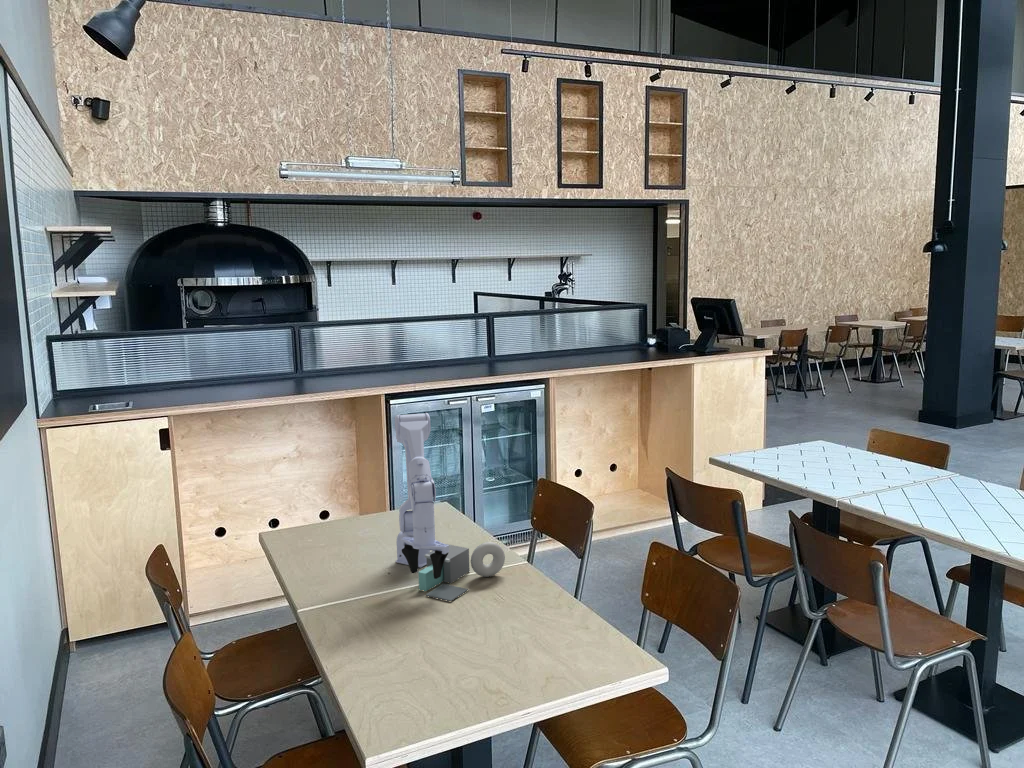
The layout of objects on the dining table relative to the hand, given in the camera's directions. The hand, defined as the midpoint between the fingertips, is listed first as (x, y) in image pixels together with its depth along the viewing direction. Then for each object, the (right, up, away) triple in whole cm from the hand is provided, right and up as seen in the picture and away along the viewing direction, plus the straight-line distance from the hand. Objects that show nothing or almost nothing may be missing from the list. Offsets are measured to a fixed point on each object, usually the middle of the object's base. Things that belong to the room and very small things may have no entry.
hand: (425, 574), depth 205 cm
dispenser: (+5, -3, +9) cm, 11 cm away
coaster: (+6, -4, -3) cm, 8 cm away
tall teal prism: (+2, -4, +4) cm, 6 cm away
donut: (+17, -3, +8) cm, 19 cm away
